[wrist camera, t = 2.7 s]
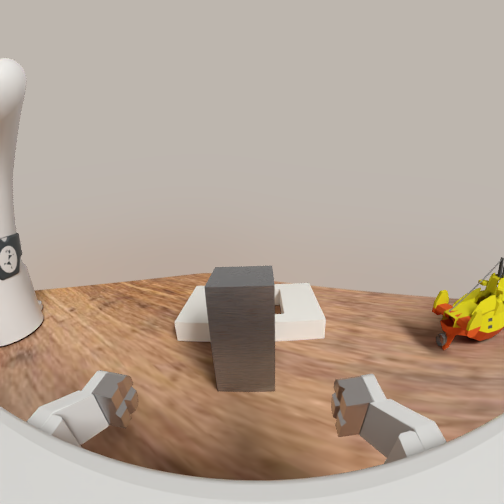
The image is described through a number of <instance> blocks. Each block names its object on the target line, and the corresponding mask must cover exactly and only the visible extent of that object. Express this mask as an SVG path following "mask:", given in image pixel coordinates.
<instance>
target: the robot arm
mask: <svg viewBox="0 0 504 504" xmlns="http://www.w3.org/2000/svg"><path fill="white" fill-rule="evenodd" d="M25 90H26V75H25V72H24V70H23V68H22V66H21V65H20V64H19V63H18V62H16V61H14V60H12V59H8V58H1V59H0V346H4V345H8V344H11V343H13V342H16V341H18V340H20V339H22V338H24V337H26V336H27V335H29V334H30V333H32V332H33V331H34V330H36V329H37V328H38V327H39V326H40V324H41V323H42V321H43V318H44V316H43V314H42V312H41V310H42V308H43V305H42V303H41V301H38V300H37V297H36V294H35V291H34V288H33V285H32V282H31V279H30V276H29V273H28V269H27V267H26V265H25V264H24V263H23V262H22V260H21V255H22V251H21V242H20V239H19V234H18V233H16V227H15V218H14V207H13V189H12V188H13V186H12V185H13V181H12V180H13V179H12V178H13V167H14V158H15V150H16V142H17V134H18V128H19V121H20V115H21V109H22V104H23V99H24V95H25ZM132 385H133V381H132V379H131V377H130V376H127V375H122V374H117V373H112V372H106V371H102V370H100V371H97V372H96V373H95V375H94V376H93V377H92V378H91V380H90V381H89V382H88V383H87V385H86V386H85V387H84V388H83V390H82V391H76V392H74V393H72V394H69V395H67V396H65V397H62V398H60V399H57V400H55V401H52V402H50V403H48V404H45V405H43V406H40V407H39V408H38V409H37V410H36V411H35V412H34V414H33V415H32V416H31V417H30V418H29V420H28V421H27V422H25V421H23V420H22V419H20V418H18V417H16V416H15V415H13V414H11V413H10V412H8V411H7V410H5V409H3V408H2V407H0V504H504V413H502V414H501V415H499V416H498V417H496V418H494V419H493V420H491V421H489V422H487V423H485V424H484V425H482V426H480V427H478V428H476V429H474V430H472V431H470V432H468V433H466V434H464V435H462V436H460V437H458V438H456V439H453V440H451V441H449V442H446V440H445V438H444V437H443V435H442V433H441V432H440V430H439V428H438V426H437V425H436V423H435V422H434V421H432V420H430V419H428V418H426V417H424V416H422V415H420V414H418V413H416V412H414V411H412V410H410V409H408V408H406V407H404V406H403V405H401V404H399V403H397V402H395V401H393V400H391V399H386V397H385V395H384V393H383V391H382V389H381V387H380V385H379V384H378V382H377V380H376V378H375V376H374V375H373V374H368V375H362V376H357V377H350V378H343V379H336V380H335V382H334V390H335V393H334V394H333V395H332V400H331V409H332V414H333V417H334V418H335V419H336V424H335V426H336V430H337V434H338V437H343V436H350V435H356V434H360V436H361V437H362V438H364V439H365V440H366V441H367V442H368V443H370V444H371V445H372V446H373V447H374V448H376V449H377V450H378V451H379V452H380V453H382V454H383V455H384V456H385V457H387V459H386V461H385V463H384V464H382V465H378V466H374V467H370V468H366V469H361V470H356V471H351V472H346V473H340V474H334V475H328V476H320V477H312V478H301V479H288V480H227V479H214V478H204V477H195V476H187V475H181V474H175V473H169V472H164V471H159V470H154V469H149V468H145V467H141V466H137V465H133V464H129V463H125V462H122V461H118V460H115V459H112V458H109V457H106V456H103V455H100V454H97V453H94V452H91V451H88V450H86V449H83V448H82V447H81V446H80V445H82V444H83V443H85V442H86V441H88V440H89V439H91V438H92V437H94V436H95V435H97V434H98V433H99V432H101V431H102V430H104V429H105V428H107V427H108V426H109V425H112V426H117V427H121V428H127V426H128V424H129V422H130V420H131V415H130V414H131V413H133V412H134V411H136V408H137V406H138V395H137V392H136V390H135V389H134V388H133V387H132Z"/></svg>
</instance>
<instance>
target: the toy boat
mask: <svg viewBox="0 0 504 504" xmlns="http://www.w3.org/2000/svg"><path fill="white" fill-rule="evenodd" d="M503 260H504V258H501V260H500V261H499V263H500V265H499V270H498V274H496V275H495V273H493V274H492V275H491V277H490V279H489V281H487V280H484V279H485V278H486V277H487V276H488V275H489V273H491V271H492V270H493V269H494V268H495V267H496V266H497V265H498V264H499V263H497V265H496V266H495V267H494V268H493V269H492V270H491V271H490V272H489V273H488V274H487V275H486V276H485V277H484V278H483V279H482V280H479V282H478V284H477V285H476V286H475V287H477V286H478V285H479V284H481V285H484V286H487V287H486V289H485V290H484V291H480V290H481V288H478V289H475V287H474V288H473V289H472V290H471V291H470V292H469V293H467V294H465V295H464V296H463V297H462V298H460V299H459V300H457V301H456V302H455V303H454V304H453V306H451V305H449V304H448V301H449V297H448V292H447V291H446V290H443V291H440V292H439V294H438V296H437V298H436V299H435V301H434V305H433V310H432V312H434V313H435V314H437V315H440V314H442V315H443V318H442V320H441V321H440V322H441V326H442V330H443V331H444V332H446V335H445V333H440V334H438V335H437V337H436V342H437V344H438V346H443V347H442V349H443V350H446V349H447V348H448V347H449V345H450V344H451V342H452V340H453V339H454V337H455V336H456V335H463V336H468V337H469V338H473V339H476V340H478V341H482V340H485V339H489V338H491V337H493V336H494V335H496V334H497V333H499V332H500V331H501V330H502V329H503V328H504V267H503ZM502 268H503V273H502ZM498 280H500V281H499V283H498ZM497 285H498V287H497ZM474 289H475V290H474ZM440 335H442V336H443V338H444V341H443V344H441V342H440Z"/></svg>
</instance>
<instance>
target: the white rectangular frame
mask: <svg viewBox="0 0 504 504" xmlns="http://www.w3.org/2000/svg"><path fill="white" fill-rule="evenodd" d="M274 286H275V305H280V308H281V314H275V341H293V340H309V339H323V338H324V335H325V323H326V319H325V317H324V314H323V312H322V310H321V308H320V306H319V304H318V301H317V299H316V297H315V295H314V293H313V291H312V289H311V287H310V284H309V283H299V284H274ZM204 287H205V286H197V287H196V288H195V290H194V291H193V293H192V295H191V296H190V298H189V299H188V301H187V303H186V304H185V306H184V308H183V309H182V311H181V312H180V314H179V316H178V317H177V319H176V321H175V328H176V334H177V339H178V341H199V342H211V340H210V332H209V324H208V315H207V307H206V297H205V288H204Z"/></svg>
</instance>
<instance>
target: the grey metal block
mask: <svg viewBox="0 0 504 504" xmlns="http://www.w3.org/2000/svg"><path fill="white" fill-rule="evenodd" d="M204 288H205V297H206V307H207V315H208V324H209V332H210V340H211V348H212V355H213V362H214V369H215V376H216V383H217V389H218V391H228V392H265V391H275V286H274V278H273V271H272V266H249V267H216V268H215V269H214V271H213V273H212V274H211V276H210V278H209V280H208V282H207V283H206V285H205V287H204Z"/></svg>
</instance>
